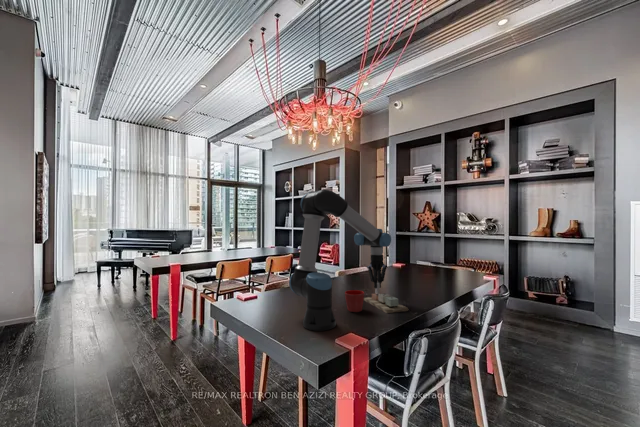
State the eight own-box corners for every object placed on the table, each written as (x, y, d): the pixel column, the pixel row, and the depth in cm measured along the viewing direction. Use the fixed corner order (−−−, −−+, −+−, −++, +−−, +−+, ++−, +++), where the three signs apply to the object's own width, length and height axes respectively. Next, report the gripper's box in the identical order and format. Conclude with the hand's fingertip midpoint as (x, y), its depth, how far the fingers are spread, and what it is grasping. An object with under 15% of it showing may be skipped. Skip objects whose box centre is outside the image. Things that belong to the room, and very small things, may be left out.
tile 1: (390, 301, 162) (390, 295, 162) (382, 302, 160) (382, 295, 161) (386, 299, 167) (385, 293, 167) (378, 300, 165) (378, 293, 165)
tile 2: (398, 305, 154) (398, 298, 154) (390, 306, 153) (390, 299, 153) (393, 303, 159) (393, 296, 159) (385, 304, 158) (385, 297, 158)
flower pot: (341, 311, 152) (341, 293, 153) (349, 306, 162) (349, 289, 162) (360, 314, 147) (360, 295, 148) (367, 308, 157) (367, 290, 157)
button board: (408, 310, 153) (408, 307, 153) (386, 313, 149) (386, 310, 149) (382, 298, 178) (382, 296, 178) (363, 300, 174) (363, 297, 174)
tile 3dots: (383, 301, 169) (383, 294, 170) (375, 301, 168) (375, 295, 168) (379, 298, 174) (379, 292, 174) (371, 299, 173) (371, 293, 173)
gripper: (383, 253, 178) (384, 291, 177) (364, 254, 174) (365, 293, 173) (389, 254, 171) (390, 294, 170) (370, 255, 167) (370, 295, 166)
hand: (377, 293), depth 171 cm, fingers closed
